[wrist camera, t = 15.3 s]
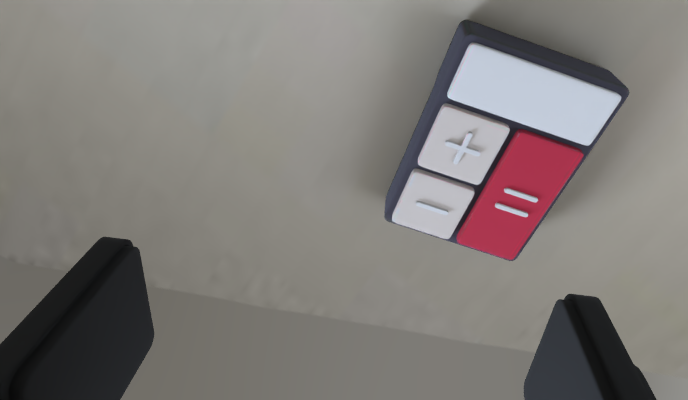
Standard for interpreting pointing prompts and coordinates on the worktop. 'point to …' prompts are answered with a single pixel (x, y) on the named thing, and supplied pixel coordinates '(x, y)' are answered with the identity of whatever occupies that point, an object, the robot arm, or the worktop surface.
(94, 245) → the robot arm
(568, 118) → the calculator
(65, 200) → the worktop surface
